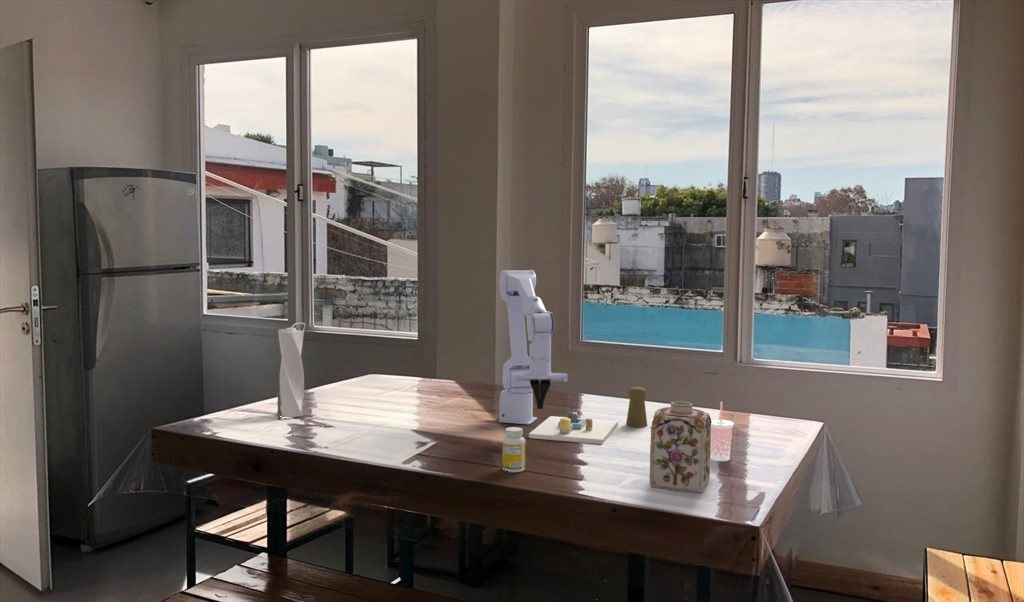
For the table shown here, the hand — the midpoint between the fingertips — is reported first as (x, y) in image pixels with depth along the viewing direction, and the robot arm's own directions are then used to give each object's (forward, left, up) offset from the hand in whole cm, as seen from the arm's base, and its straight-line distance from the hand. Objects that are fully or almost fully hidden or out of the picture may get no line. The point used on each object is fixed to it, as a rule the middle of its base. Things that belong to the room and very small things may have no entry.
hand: (539, 408), depth 221 cm
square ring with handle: (+7, +7, -7) cm, 12 cm away
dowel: (+12, +7, -8) cm, 16 cm away
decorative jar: (+40, -29, -8) cm, 50 cm away
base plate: (+7, +9, -8) cm, 14 cm away
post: (+6, +10, -8) cm, 15 cm away
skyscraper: (-77, 0, -8) cm, 77 cm away
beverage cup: (+47, -6, -8) cm, 48 cm away
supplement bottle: (+2, -31, -8) cm, 32 cm away
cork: (+22, +22, -8) cm, 33 cm away
